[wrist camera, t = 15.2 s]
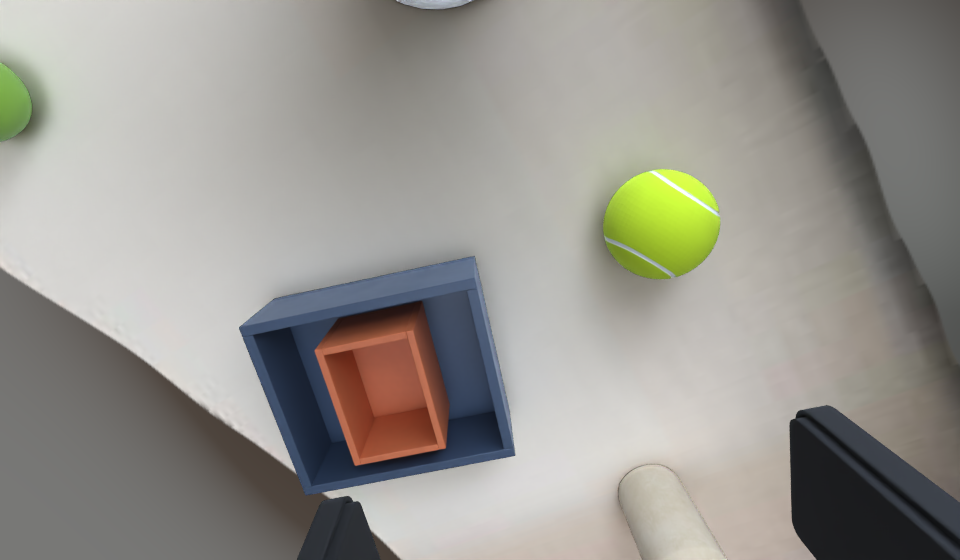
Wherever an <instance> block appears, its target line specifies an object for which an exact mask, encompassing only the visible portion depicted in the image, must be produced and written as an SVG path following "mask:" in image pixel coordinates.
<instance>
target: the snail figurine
mask: <svg viewBox="0 0 960 560" xmlns="http://www.w3.org/2000/svg"><path fill="white" fill-rule="evenodd" d="M31 113H32V103H31V98H30V95H29V93H28V91H27V89H26V87H25V85H24V84H23V82H22V81H21V80H20V79H19V78H18V76H17V75H16V74H15V73H14V72H12V71H11V70H10V69H9V68H8V67H6V66H5V65H4V64H2V63H1V62H0V142H1V141H5V140H8V139H10V138H12V137H14V136H16V135H17V134H19V133H20V132H21V131H22V130H23V129H24V128H25V127H26V126H27V124H28V122H29V120H30V117H31Z"/></svg>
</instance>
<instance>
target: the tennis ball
mask: <svg viewBox="0 0 960 560" xmlns="http://www.w3.org/2000/svg"><path fill="white" fill-rule="evenodd" d="M719 230H720V216H719V208H718V205H717V203H716V201H715V199H714V197H713V195H712V194H711V192H710V191H709V190H708V189H707V188H706V187H705V186H704V185H703V184H702V183H701V182H700V181H698V180H697V179H695V178H694V177H692V176H690V175H688V174H685V173H683V172H679V171H675V170H667V169H659V170H651V171H649V172H644V173H641V174H639V175H637V176H635V177H633V178H632V179H630V180H629V181H627V182H626V183H625V184H623V185H622V186H621V187H620V188H619V189H618V191H617V192H616V193H615V194H614V196H613V197H612V199H611V200H610V202H609V204H608V206H607V209H606V212H605V216H604V222H603V233H604V239H605V242H606V245H607V247H608V249H609V251H610V252H611V254H612V256H613V257H614V258H615V259H616V261H617V262H618V263H619V264H620V265H622V266H623V267H624V268H625V269H627V270H629V271H630V272H632V273H634V274H636V275H639V276H642V277H646V278H650V279H670V278H671V277H678V276H681V275H683V274H685V273H688V272H689V271H691V270H693V269H694V268H696V267H697V266H698V265H700V264H701V263H702V262H703V261H704V260H705V259H706V257H707V256H708V255H709V254H710V252H711V251H712V249H713V247H714V245H715V243H716V241H717V238H718V235H719Z"/></svg>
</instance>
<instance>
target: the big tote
mask: <svg viewBox="0 0 960 560" xmlns="http://www.w3.org/2000/svg"><path fill="white" fill-rule="evenodd" d="M420 301H422V302H423V306H424V310H425V314H426V317H427V321H428V325H429V329H430V332H431V336H432V340H433V344H434V347H435V351H436V355H437V358H438V362H439V366H440V370H441V373H442V377H443V381H444V385H445V388H446V392H447V396H448V400H449V403H450V408H449V420H448V431H447V442H446V448H445V449H439V450H435V451H430V452H425V453H420V454H414V455H409V456H404V457H399V458H394V459H388V460H383V461H378V462H373V463H368V464H361V465H357V466H355V465H354V462H353V459H352V456H351V453H350V451H349V448H348V445H347V442H346V439H345V436H344V433H343V431H342V428H341V425H340V422H339V419H338V416H337V414H336V411H335V408H334V405H333V402H332V399H331V397H330V394H329V391H328V388H327V385H326V382H325V379H324V377H323V374H322V371H321V368H320V365H319V362H318V360H317V357H316V354H315V349H316V348H317V346H318V345H319V344H320V342H321V341H322V340H323V338H324V337H325V336H326V334H327V333H328V332H329V330H330V329H331V327H332V326H333V325H334V323H335V322H336V321H337V319H338V318H343V317H348V316H353V315H358V314H362V313H367V312H372V311H377V310H382V309H386V308H391V307H396V306H401V305H405V304H410V303H415V302H420ZM239 329H240V332H241V334H242V337H243V339H244V342H245V344H246V347H247V349H248V352H249V354H250V357H251V359H252V362H253V364H254V367H255V370H256V372H257V375H258V377H259V380H260V382H261V385H262V387H263V390H264V392H265V395H266V397H267V400H268V402H269V405H270V407H271V410H272V412H273V415H274V417H275V420H276V422H277V425H278V427H279V430H280V432H281V435H282V437H283V440H284V442H285V445H286V448H287V450H288V453H289V455H290V458H291V460H292V463H293V465H294V468H295V470H296V473H297V475H298V478H299V480H300V483H301V485H302V487H303V490H304V493H305V495H311V494H316V493H322V492H327V491H332V490H338V489H343V488H348V487H353V486H359V485H364V484H369V483H374V482H380V481H385V480H390V479H395V478H401V477H406V476H411V475H417V474H422V473H427V472H432V471H438V470H443V469H448V468H453V467H459V466H464V465H469V464H474V463H480V462H485V461H490V460H495V459H501V458H506V457H511V456H515V449H514V441H513V433H512V425H511V418H510V411H509V406H508V402H507V397H506V393H505V388H504V384H503V380H502V375H501V371H500V366H499V362H498V357H497V353H496V349H495V344H494V340H493V335H492V331H491V326H490V322H489V318H488V313H487V309H486V304H485V300H484V295H483V291H482V287H481V282H480V278H479V273H478V269H477V264H476V260H475V257H474V256H472V257H468V258H463V259H458V260H453V261H449V262H444V263H439V264H435V265H430V266H425V267H420V268H416V269H411V270H406V271H402V272H397V273H392V274H388V275H383V276H378V277H373V278H369V279H364V280H359V281H355V282H350V283H345V284H341V285H336V286H331V287H326V288H322V289H317V290H312V291H308V292H303V293H298V294H293V295H289V296H284V297H279V298H275V299H273V300H272V301H271V302H270V303H268V304H267V305H266V306H265V307H263V308H262V309H261V310H260V311H259V312H257V313H256V314H255V315H254V316H252V317H251V318H250V319H249V320H248V321H246V322H245V323H244V324H243V325H241V326H240V327H239Z"/></svg>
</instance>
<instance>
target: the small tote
mask: <svg viewBox="0 0 960 560" xmlns="http://www.w3.org/2000/svg"><path fill="white" fill-rule="evenodd" d="M315 354H316V357H317V360H318V362H319V365H320V368H321V371H322V374H323V377H324V379H325V382H326V385H327V388H328V391H329V394H330V397H331V399H332V402H333V405H334V408H335V411H336V414H337V416H338V419H339V422H340V425H341V428H342V431H343V433H344V436H345V439H346V442H347V445H348V448H349V451H350V453H351V456H352V459H353V462H354V465H355V466H357V465H361V464H368V463H373V462H378V461H383V460H388V459H394V458H399V457H404V456H409V455H414V454H420V453H425V452H430V451H435V450H439V449H445V448H446V442H447V431H448V420H449V408H450V403H449V400H448V396H447V392H446V388H445V385H444V381H443V377H442V373H441V370H440V366H439V362H438V358H437V355H436V351H435V347H434V344H433V340H432V336H431V332H430V329H429V325H428V321H427V317H426V314H425V310H424V306H423V302H422V301H420V302H415V303H410V304H405V305H401V306H396V307H391V308H386V309H382V310H377V311H372V312H367V313H362V314H358V315H353V316H348V317H343V318H338V319H337V321H336V322H335V323H334V325H333V326H332V327H331V329H330V330H329V332H328V333H327V334H326V336H325V337H324V338H323V340H322V341H321V342H320V344H319V345H318V346H317V348H316V349H315Z"/></svg>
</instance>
